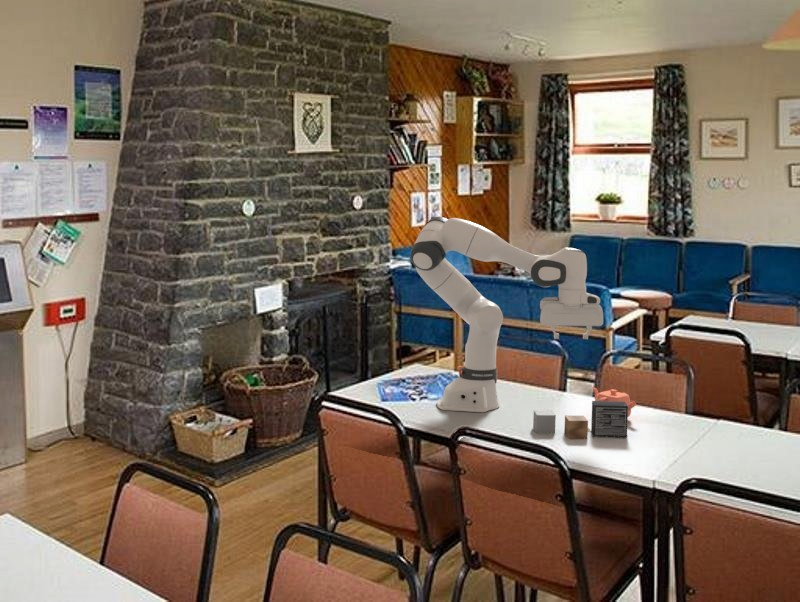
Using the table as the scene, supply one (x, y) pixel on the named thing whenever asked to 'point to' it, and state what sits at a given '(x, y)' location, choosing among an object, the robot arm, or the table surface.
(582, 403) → the table surface
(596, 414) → the small box
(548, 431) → the slate cube
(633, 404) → the teapot
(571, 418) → the walnut cube
